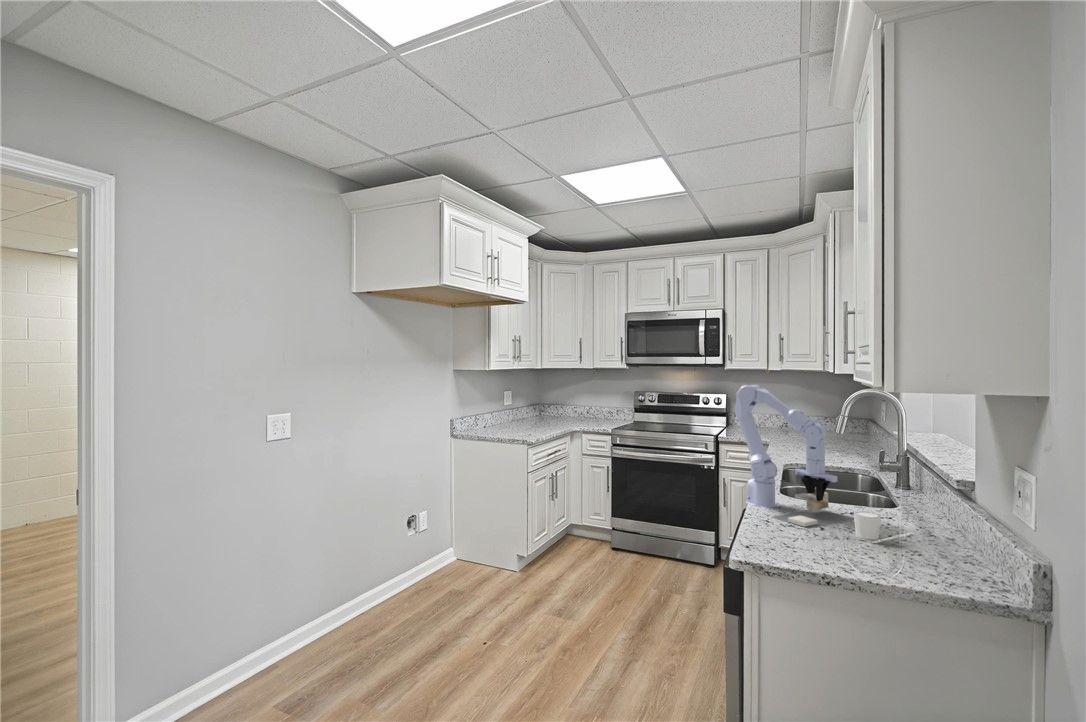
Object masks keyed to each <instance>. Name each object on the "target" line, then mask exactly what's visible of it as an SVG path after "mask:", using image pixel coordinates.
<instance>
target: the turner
mask: <svg viewBox="0 0 1086 722" xmlns="http://www.w3.org/2000/svg"><path fill="white" fill-rule="evenodd" d="M794 496H795V497H794V499H798V500H802V501H805V502H806V510H818V509H822V510H824V509H827V508H829V492H826V491H825V493H824V496H823V500H822V501H817V498H816V492H815V493H809V494H808V493H804V492H803V493H802V492H801V493H796V494H794Z"/></svg>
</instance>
